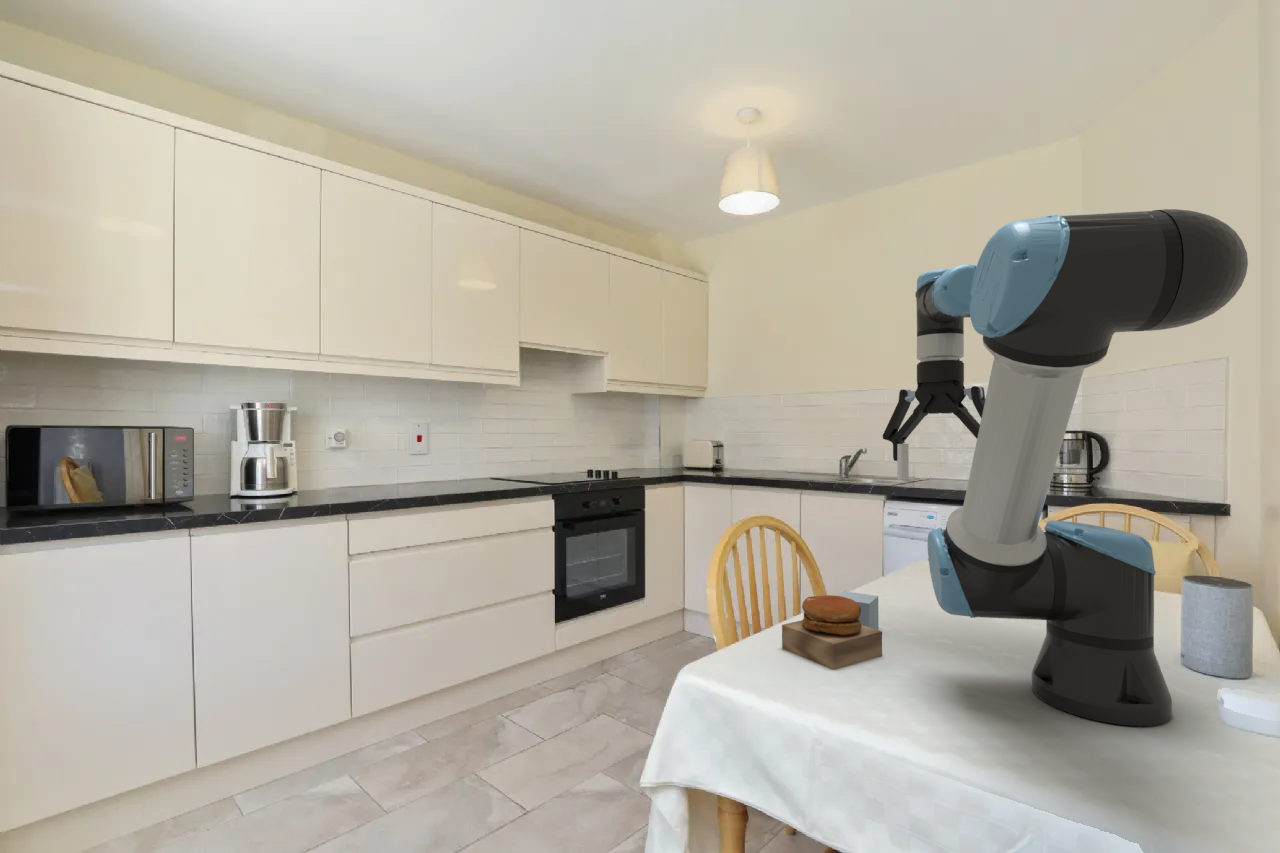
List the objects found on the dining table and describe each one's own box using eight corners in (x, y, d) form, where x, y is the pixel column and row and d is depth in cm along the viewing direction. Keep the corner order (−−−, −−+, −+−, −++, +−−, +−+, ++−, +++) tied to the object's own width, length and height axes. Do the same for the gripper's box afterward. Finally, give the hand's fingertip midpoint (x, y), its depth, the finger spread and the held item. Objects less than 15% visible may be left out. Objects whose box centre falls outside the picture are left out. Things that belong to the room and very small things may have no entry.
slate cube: (878, 629, 116) (878, 596, 116) (869, 638, 111) (869, 603, 111) (844, 623, 120) (844, 591, 120) (834, 632, 115) (834, 598, 115)
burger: (866, 638, 99) (866, 607, 99) (803, 635, 101) (803, 605, 101) (857, 620, 108) (857, 592, 109) (800, 617, 110) (800, 590, 110)
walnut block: (882, 659, 103) (882, 631, 103) (833, 673, 97) (833, 644, 97) (828, 640, 112) (828, 614, 112) (782, 651, 106) (782, 624, 106)
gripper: (1026, 356, 106) (1027, 485, 106) (883, 366, 125) (884, 476, 125) (1009, 352, 101) (1009, 488, 101) (863, 364, 120) (863, 478, 120)
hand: (940, 481), depth 113 cm, fingers open, 13 cm apart
